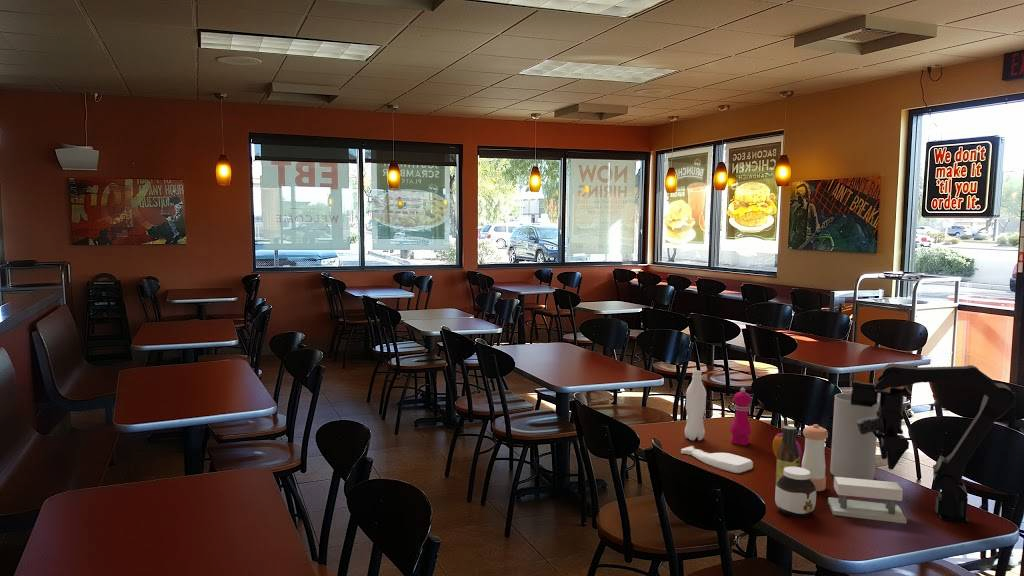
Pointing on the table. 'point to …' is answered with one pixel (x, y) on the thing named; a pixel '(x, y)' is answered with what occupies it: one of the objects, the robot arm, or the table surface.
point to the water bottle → (695, 407)
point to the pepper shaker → (815, 455)
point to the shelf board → (868, 488)
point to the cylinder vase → (852, 440)
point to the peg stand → (867, 509)
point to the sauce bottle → (787, 451)
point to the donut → (777, 443)
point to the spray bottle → (721, 460)
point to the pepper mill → (741, 419)
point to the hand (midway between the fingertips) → (887, 463)
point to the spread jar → (795, 492)
